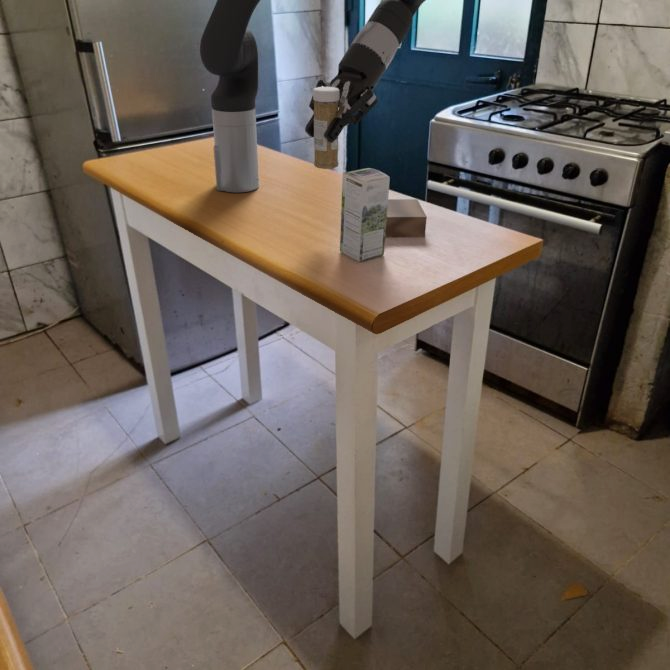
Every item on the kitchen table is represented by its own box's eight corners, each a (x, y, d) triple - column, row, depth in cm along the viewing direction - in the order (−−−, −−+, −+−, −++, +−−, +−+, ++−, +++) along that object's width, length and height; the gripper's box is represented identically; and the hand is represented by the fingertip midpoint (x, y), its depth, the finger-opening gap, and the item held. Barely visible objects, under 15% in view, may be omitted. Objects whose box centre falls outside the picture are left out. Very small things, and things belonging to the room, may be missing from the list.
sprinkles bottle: (342, 168, 114) (344, 89, 107) (319, 170, 112) (320, 91, 105) (331, 161, 117) (332, 85, 110) (309, 164, 116) (308, 86, 109)
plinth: (372, 237, 118) (373, 217, 116) (366, 218, 126) (367, 199, 124) (424, 237, 118) (426, 216, 116) (415, 218, 127) (417, 199, 125)
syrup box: (364, 245, 115) (367, 166, 107) (385, 256, 111) (390, 174, 103) (339, 252, 112) (341, 171, 104) (360, 263, 108) (363, 180, 100)
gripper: (330, 37, 113) (280, 116, 112) (389, 45, 104) (335, 131, 103) (350, 66, 119) (303, 142, 118) (408, 76, 110) (357, 157, 109)
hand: (318, 136), depth 111 cm, fingers closed on sprinkles bottle, 4 cm apart
